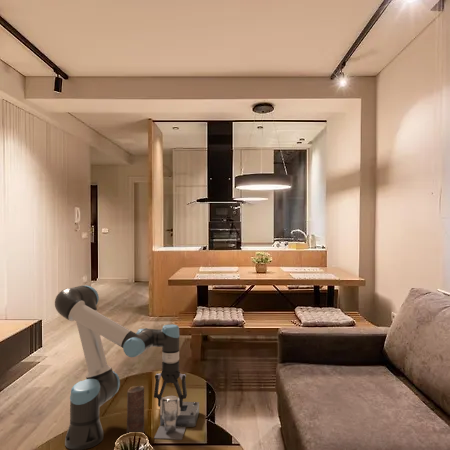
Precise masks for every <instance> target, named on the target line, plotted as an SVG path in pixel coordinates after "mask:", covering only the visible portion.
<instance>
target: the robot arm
mask: <svg viewBox="0 0 450 450" xmlns="http://www.w3.org/2000/svg"><path fill="white" fill-rule="evenodd" d="M99 299H100V297H99V294H98V290H97V289H95V288H94V287H92V286H90V285H78V286H73V287H68V288H65V289H63V290H61V291H59V292H58V293H57V295H56V296H55V300H54V307H55V310H56V312H57V313H58V314H59V315H60V316H62V317H63V318H64V319H67V320H68V321H70V322H74V321H75V322H76V323H75V324H76V326H77V329H78V335H79V338H80V342H81V347H82V351H83V352H82V353H83V356H84V359H85V363H86V367H87V371H88V372H87V374H86V375H85V379H84V380H79V381H78V382H76V383H75V384H74V385H73V386H72V387H71V389H70V396H69V401H70V402H69V406H70V407H69V408H70V409H69V426H68V428H67V431H66V435H65V438H64V446H65V447H66V448H67V449H68V450H88V449H91V448H94V447H96V446H97V445H99V444H100V443H101V442H103V440H104V430H103V426H102V423H101V419H100V407H101V406H103V405H104V404H105V403H106V402H108V401H109V400H111V399H113V397H114V396H115V395H116V394H117V393H118V392H119V389H120V386H121V380H120V376H119V374H118V373H116V372H115V371H114V370H113V367H112V366H110V365H108V362H107V358H106V355H105V354H106V353H105V350H104V346H103V343H102V338H104V339H106V340H108V341H110V342H112V343H114V344H116V345H117V346H118V347H120V348H122V349H123V353H124V354H125V356H127V357H129V358H135V357H138V356H140V355H142V354H143V353H144V352H145V351H147V350H148V349H150V348H152V347H155V348H162V349H161V355H162V357H161V360H162V362H161V372H160V373H159V372H157V373H156V374H155V375H154V378H155V384H154V392H153V394H154V395H153V398H154V399H157V405H158V408H160V409H159V412H160V413H159V416H160V415H162V399H163V398H164V397H162V396H163V394H164V391H165V389H166V387H167V384H173V386H174V387H175V388H174V389H175V391H176V393H177V397H178V416H179V415H180V407H182V405H183V402H184V399H187V397H188V390H187V382H186V378H187V373H184V374H183V373H181V372H180V361H179V360H180V327H179V325H177V324H173V323H172V324H164V325H162V328H161V329H158V328H146V327H145V328H139V329H137V331H136V332H134V331H132V330H131V329H129V328H127V327H125V326H124V325H121V324H120V323H118V322H116V321H115V320H113V319H111V318H110V317H108V316H105V315H104V314H102V313H100V312H98V307H97V305H98V302H99V301H100V300H99ZM101 337H102V338H101ZM161 378H162V379H163V381H162V382H163V383H162V386H161V389H160V392H159V388H160V387H159V386H160V381H161V380H160V379H161ZM179 378H180V380H181V386H182V390H181V387H180V384H179V383H180V382H179V380H178V379H179Z"/></svg>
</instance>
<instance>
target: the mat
mask: <svg viewBox="0 0 450 450" xmlns="http://www.w3.org/2000/svg"><path fill="white" fill-rule="evenodd" d="M186 428H187V427H181V426H176V430H175V431H174V432H166V431H165V426H160V425H159V426H158V429H157V431H156V433H155V434H154V437H153V440H177V441H182V440H183V437H184V434H185V431H186Z"/></svg>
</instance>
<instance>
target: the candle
mask: <svg viewBox="0 0 450 450" xmlns="http://www.w3.org/2000/svg"><path fill="white" fill-rule="evenodd" d="M126 404H127V406H126V413H127V414H126V434H127V433H129V432H143V434H144V433H145V387H144V386H143V385H137V386H136V385H133V386H131V387H129V389H127V400H126Z"/></svg>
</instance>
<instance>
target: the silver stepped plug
mask: <svg viewBox="0 0 450 450" xmlns="http://www.w3.org/2000/svg"><path fill="white" fill-rule="evenodd" d="M178 398H179V397H178V396H175V395H168V396H164V397H163V399H162V418H163V420H165V431H166V432H174V431H175V430H176V427H177V426H176V419H177V418H178Z"/></svg>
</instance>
